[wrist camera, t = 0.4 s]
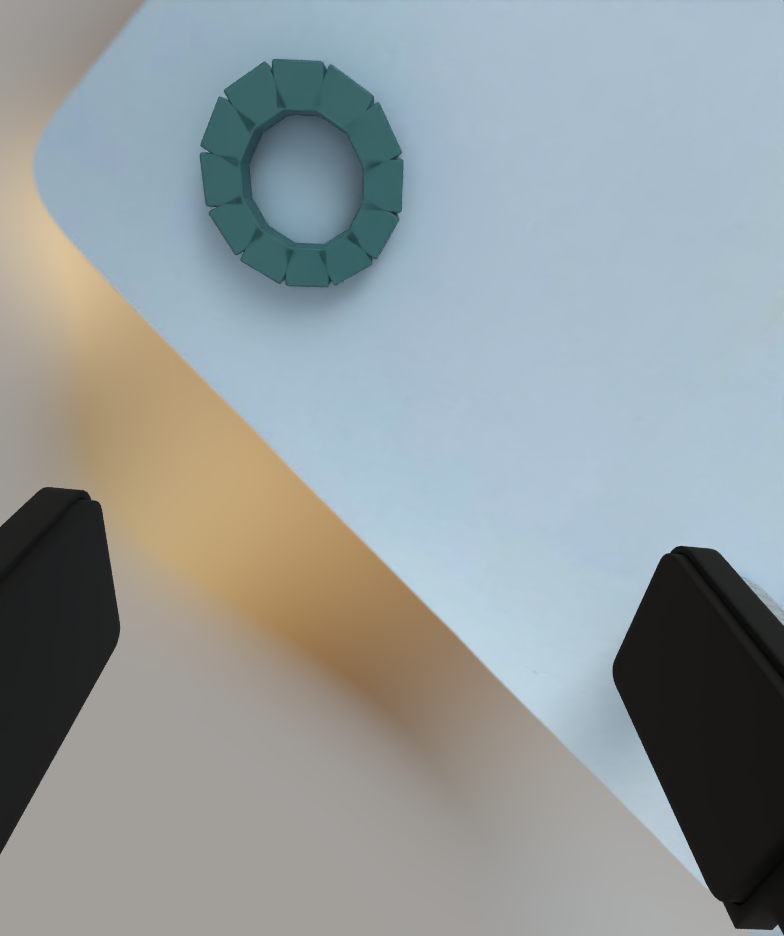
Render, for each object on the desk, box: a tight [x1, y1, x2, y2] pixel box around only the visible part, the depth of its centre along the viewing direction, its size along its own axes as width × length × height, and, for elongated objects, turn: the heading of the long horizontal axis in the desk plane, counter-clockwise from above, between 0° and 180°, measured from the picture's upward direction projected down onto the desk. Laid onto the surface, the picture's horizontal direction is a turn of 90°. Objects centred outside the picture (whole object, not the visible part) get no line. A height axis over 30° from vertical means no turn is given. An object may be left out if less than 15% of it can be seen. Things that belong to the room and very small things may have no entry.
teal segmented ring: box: [200, 59, 403, 287], centre depth 22 cm, size 8×8×2 cm
